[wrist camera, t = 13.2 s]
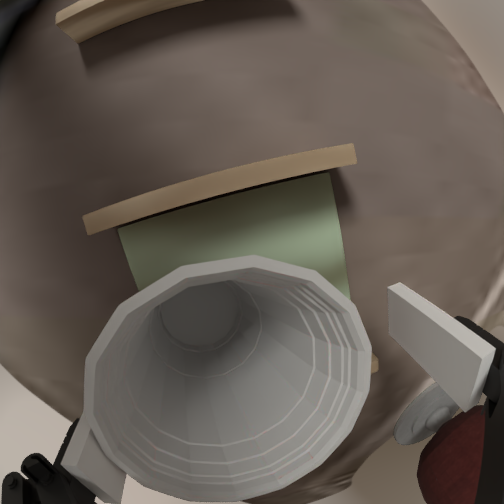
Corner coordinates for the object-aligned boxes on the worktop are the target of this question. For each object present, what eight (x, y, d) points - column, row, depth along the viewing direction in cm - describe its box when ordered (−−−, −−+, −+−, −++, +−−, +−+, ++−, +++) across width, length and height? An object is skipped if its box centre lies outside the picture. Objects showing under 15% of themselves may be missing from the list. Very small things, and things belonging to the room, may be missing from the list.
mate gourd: (385, 408, 26) (470, 538, 7) (474, 350, 26) (572, 436, 7) (389, 462, 30) (440, 555, 11) (461, 416, 30) (524, 490, 11)
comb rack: (77, 33, 14) (56, 13, 10) (273, -19, 15) (282, -47, 11) (181, 393, 23) (177, 425, 19) (358, 345, 23) (378, 370, 19)
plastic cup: (280, 234, 21) (406, 265, 9) (265, 370, 22) (342, 475, 11) (123, 224, 17) (57, 248, 6) (126, 372, 19) (113, 503, 7)
